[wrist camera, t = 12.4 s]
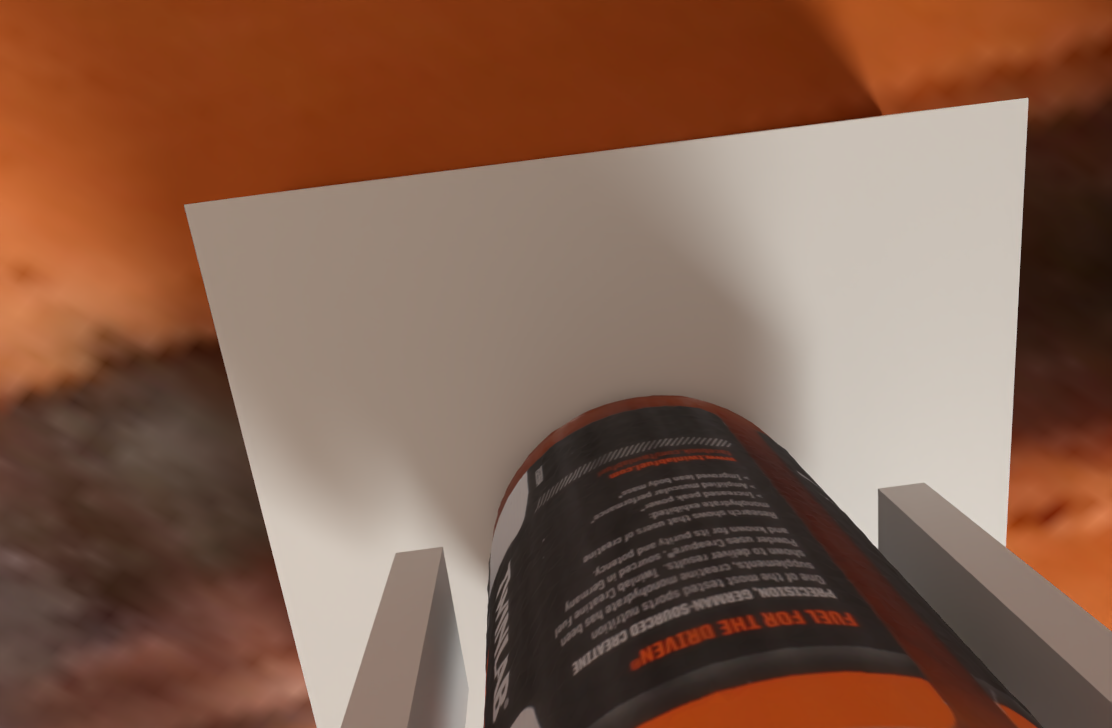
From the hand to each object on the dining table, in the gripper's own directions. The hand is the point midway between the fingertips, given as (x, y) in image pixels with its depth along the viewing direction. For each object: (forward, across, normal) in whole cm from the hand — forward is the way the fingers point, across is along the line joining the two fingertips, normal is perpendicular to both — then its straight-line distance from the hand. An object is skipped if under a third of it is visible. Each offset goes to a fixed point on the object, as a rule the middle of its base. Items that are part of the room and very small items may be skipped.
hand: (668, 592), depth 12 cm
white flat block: (+7, 0, 0) cm, 7 cm away
